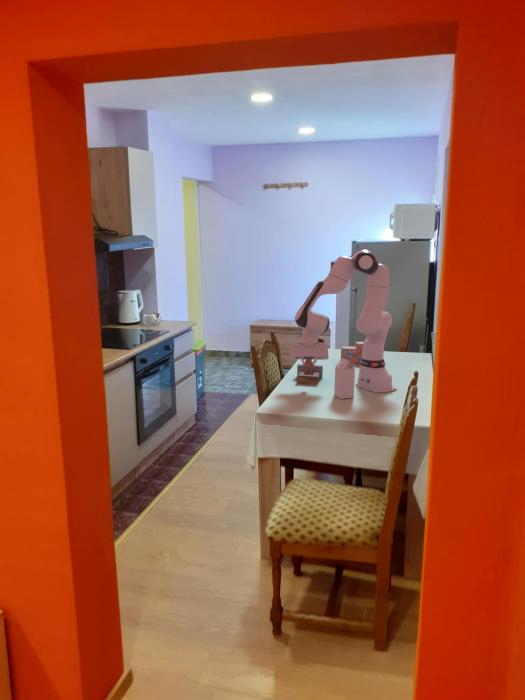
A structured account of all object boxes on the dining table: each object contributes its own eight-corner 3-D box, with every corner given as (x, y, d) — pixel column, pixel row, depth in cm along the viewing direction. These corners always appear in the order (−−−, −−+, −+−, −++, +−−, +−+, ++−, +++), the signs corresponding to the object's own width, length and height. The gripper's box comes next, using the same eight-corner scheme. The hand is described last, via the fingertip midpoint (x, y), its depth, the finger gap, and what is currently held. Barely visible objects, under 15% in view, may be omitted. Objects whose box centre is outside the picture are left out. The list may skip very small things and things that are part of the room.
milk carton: (346, 394, 288) (348, 357, 284) (353, 398, 282) (355, 360, 278) (334, 395, 286) (335, 358, 282) (341, 399, 279) (342, 361, 275)
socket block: (299, 378, 318) (299, 370, 317) (319, 379, 316) (319, 371, 315) (297, 383, 307) (297, 375, 306) (318, 384, 306) (318, 376, 305)
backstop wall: (297, 376, 321) (297, 364, 319) (322, 377, 319) (322, 365, 317) (297, 377, 319) (297, 365, 317) (322, 378, 317) (322, 366, 315)
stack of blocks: (342, 363, 352) (343, 343, 349) (340, 360, 358) (341, 341, 355) (376, 363, 353) (377, 343, 350) (374, 360, 359) (375, 341, 356)
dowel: (312, 373, 297) (312, 358, 295) (307, 374, 296) (307, 359, 294) (310, 372, 300) (310, 357, 298) (304, 373, 299) (304, 358, 297)
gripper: (290, 339, 303) (288, 361, 295) (328, 340, 300) (327, 362, 292) (291, 346, 308) (289, 368, 301) (329, 346, 305) (328, 368, 297)
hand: (308, 365), depth 296 cm, fingers closed on dowel, 3 cm apart
